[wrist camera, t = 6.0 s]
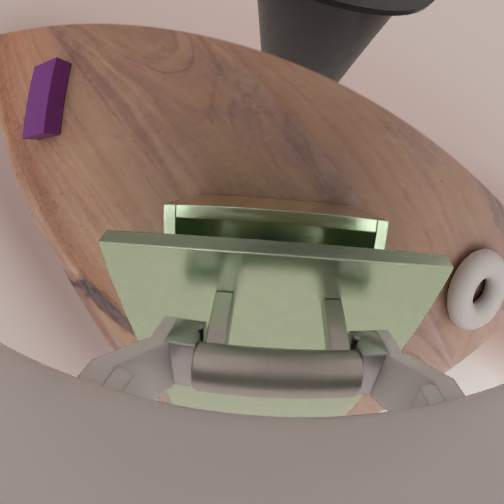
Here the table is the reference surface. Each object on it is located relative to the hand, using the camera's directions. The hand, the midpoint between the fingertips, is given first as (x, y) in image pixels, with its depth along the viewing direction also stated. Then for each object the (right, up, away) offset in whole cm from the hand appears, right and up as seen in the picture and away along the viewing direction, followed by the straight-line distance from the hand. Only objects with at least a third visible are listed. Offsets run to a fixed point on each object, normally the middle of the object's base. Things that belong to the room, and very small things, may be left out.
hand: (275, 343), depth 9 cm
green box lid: (0, -3, +5) cm, 6 cm away
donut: (+25, -1, +16) cm, 30 cm away
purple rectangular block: (-24, +21, +13) cm, 34 cm away
